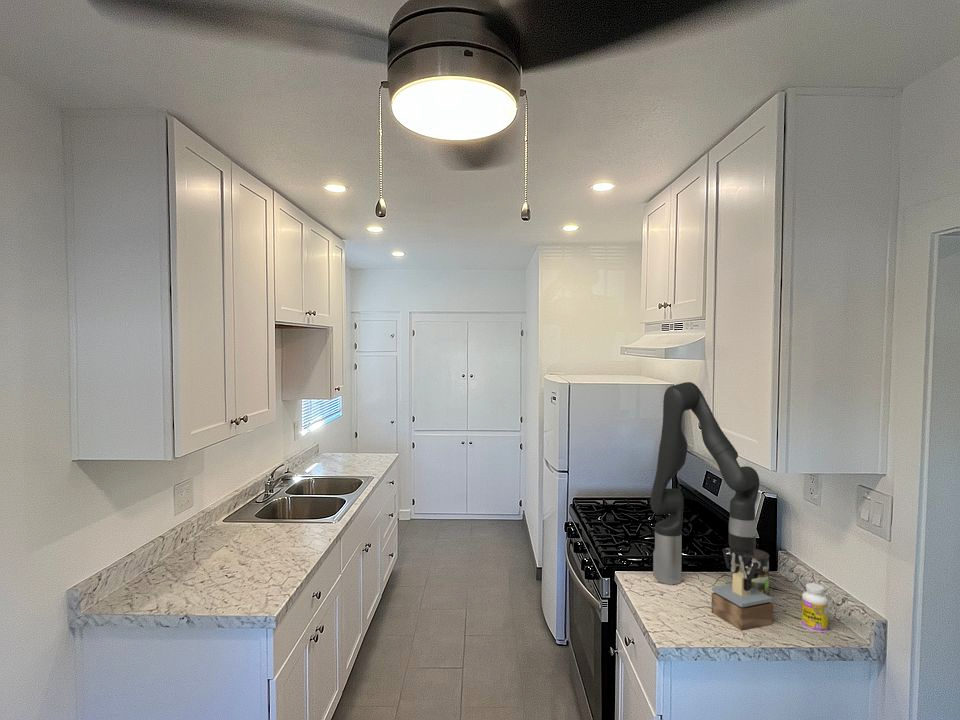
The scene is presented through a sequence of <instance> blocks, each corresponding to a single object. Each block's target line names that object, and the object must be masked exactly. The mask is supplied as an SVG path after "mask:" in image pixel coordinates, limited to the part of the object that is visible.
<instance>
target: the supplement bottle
mask: <svg viewBox="0 0 960 720" xmlns="http://www.w3.org/2000/svg"><path fill="white" fill-rule="evenodd" d="M805 589H806V591H804V592H803V593H802V594H801V625H802V626H803V627H804V628H805V629H808V630H810V631H812V632H820V633H824V632H827V631H828V625H829V624H828V623H829V622H828V621H829V617H828V616H829V599H828V598H827V596H826V595H825V594H824V593H825V587H824V586H823V585H821V584H818V583H811V582H808V583H806V584H805Z"/></svg>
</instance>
